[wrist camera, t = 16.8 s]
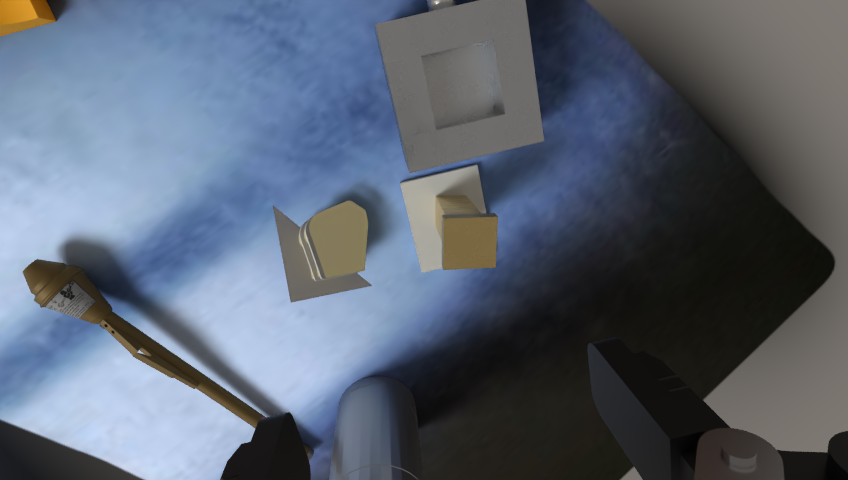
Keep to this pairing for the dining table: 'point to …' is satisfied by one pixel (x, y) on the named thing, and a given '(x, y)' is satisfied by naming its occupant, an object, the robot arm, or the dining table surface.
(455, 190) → the mat
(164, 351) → the panzerfaust rocket launcher
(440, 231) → the capped wooden post
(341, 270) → the stacked layers on plate
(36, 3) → the pipe clamp
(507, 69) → the block
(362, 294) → the dining table surface
